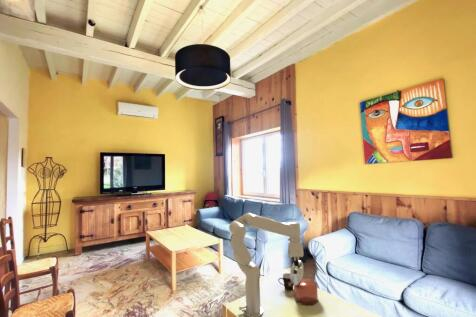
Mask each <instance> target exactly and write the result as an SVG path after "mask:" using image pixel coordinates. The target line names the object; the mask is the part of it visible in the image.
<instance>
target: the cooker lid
mask: <svg viewBox="0 0 476 317" xmlns="http://www.w3.org/2000/svg"><path fill="white" fill-rule="evenodd" d="M298 262H299V264H298V266H295V265H294V261H293V262H292V265H291V266H290V271H289V273H290V279H291V283H292V284H293V286H294V285H296V286H297V285H299V284H300V283H301V281H302V278H304V271H305V270H304V269H305V268H304V267H305V266H304V263H303V261H302V260H300V259H299V260H298Z"/></svg>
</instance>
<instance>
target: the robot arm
mask: <svg viewBox="0 0 476 317" xmlns="http://www.w3.org/2000/svg"><path fill="white" fill-rule="evenodd" d="M247 227H250V228H253V229H257V230H260V231H261V230H262V231H266V232H270V233H273V234H278V235H282V236H285V237H289V238H287V241H288V245H287V246H288V249H287V250H288V251H287V254H288V256H287V257H288V258H289V259H292V260H293V262H294V265H295V266H298V264H299V262H298V260H300V259H301V258H303V257H304V247H303V241H302V240H301V226H300V222H298V221H291V222H280V221H277V220H274V219H273V218H270V217H265V216H260V215H257V214H254V213H251V212H247V213H244V214H243V215H241V216H239V217H238V218H236V219H234V220H232V222H230V223H229V226H228V229H229V230H228V231H229V232H230V233H231V234H232V235H231V238H230V246H231V248H232V250H233V253H232V254H233V259H234V260H235V262H236V264H237V265H238V267H239V269H240V270H241V272H242V273H243V274H244V275H245V284H244V287H245V303H244V305H242V306H238V309H239V311H241V312H243V313H245V314H244V315H245V316H246V315H247V316H246V317H248V316H249V317H262V315H263V314H264V309H263V308H262V306H261V289H260V288H261V286H260V283H261V282H260V278H261V269H260V268H259V265H258V264H256V263H255V262H254V261H253V260H252V255H251V252H250V251H249V250H248V248H247V245H246V243H245V241H244V240H245V237H246V234H247Z"/></svg>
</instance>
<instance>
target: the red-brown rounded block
mask: <svg viewBox="0 0 476 317" xmlns="http://www.w3.org/2000/svg"><path fill="white" fill-rule="evenodd" d="M293 291H294V292H293V293H294V301H295V302H296V303H298V304H300V305H303V306H314V305H316V304H317V303H318V302H319V298H318V283H317V282H316V281H315V280H313V279H311V278H307V277H306V278H305V277H303V278H302V281H301V283H300V284H299V285H297V286H296V285H293Z"/></svg>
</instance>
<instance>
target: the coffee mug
mask: <svg viewBox="0 0 476 317" xmlns="http://www.w3.org/2000/svg"><path fill="white" fill-rule="evenodd" d="M280 279H281V280H282V281H283V283H282V282H281V281H280ZM278 283H279V284H280V285H282V286H284V289H285V291H288V292H291V291H294V285H293V284H292V283H291V279H290V272H289V273H287V272H286V273H283V274H282V277H279V278H278Z"/></svg>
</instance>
